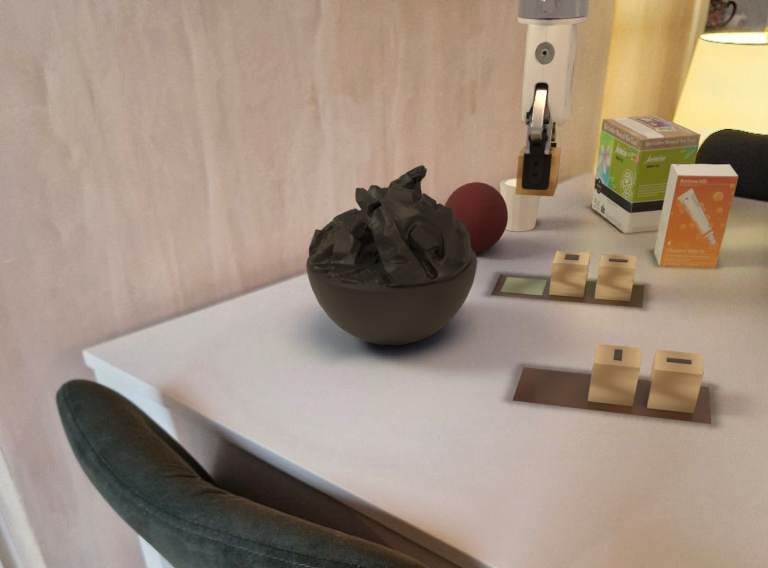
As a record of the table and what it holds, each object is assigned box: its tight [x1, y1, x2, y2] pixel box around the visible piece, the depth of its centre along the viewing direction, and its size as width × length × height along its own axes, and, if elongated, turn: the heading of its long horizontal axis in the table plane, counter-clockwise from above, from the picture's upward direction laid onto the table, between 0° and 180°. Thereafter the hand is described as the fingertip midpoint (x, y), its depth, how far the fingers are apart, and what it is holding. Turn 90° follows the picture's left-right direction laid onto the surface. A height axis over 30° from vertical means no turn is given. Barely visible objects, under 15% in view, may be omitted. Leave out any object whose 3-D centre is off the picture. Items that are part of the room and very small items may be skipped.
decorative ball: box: [444, 181, 508, 253], centre depth 116 cm, size 10×10×10 cm
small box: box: [653, 163, 739, 268], centre depth 109 cm, size 8×6×13 cm
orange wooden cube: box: [516, 145, 562, 197], centre depth 93 cm, size 5×5×5 cm
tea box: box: [591, 114, 701, 234], centre depth 124 cm, size 15×10×15 cm, turn 10°
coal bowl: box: [305, 164, 478, 346], centre depth 89 cm, size 20×20×19 cm
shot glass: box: [499, 177, 541, 232], centre depth 126 cm, size 7×7×7 cm
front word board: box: [512, 343, 712, 425], centre depth 80 cm, size 20×8×5 cm, turn 73°
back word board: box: [490, 250, 645, 309], centre depth 103 cm, size 20×8×5 cm, turn 73°
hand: (537, 181), depth 94 cm, fingers closed on orange wooden cube, 4 cm apart
